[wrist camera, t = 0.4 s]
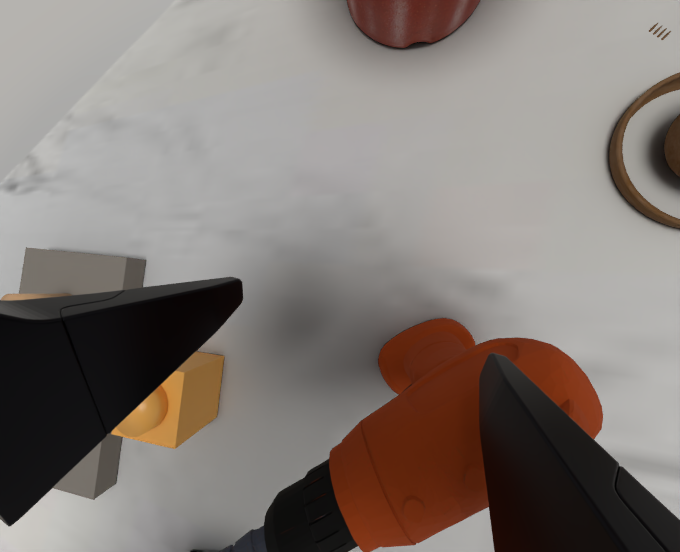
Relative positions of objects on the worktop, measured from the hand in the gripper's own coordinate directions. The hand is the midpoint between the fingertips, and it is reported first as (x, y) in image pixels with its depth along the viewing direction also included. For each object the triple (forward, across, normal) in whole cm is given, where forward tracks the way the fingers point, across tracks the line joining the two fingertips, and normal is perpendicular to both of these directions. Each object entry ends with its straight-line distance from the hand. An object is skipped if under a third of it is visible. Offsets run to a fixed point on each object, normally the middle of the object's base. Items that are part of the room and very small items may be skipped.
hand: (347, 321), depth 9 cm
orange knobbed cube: (+6, +16, +16) cm, 23 cm away
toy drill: (+10, -1, +12) cm, 15 cm away
